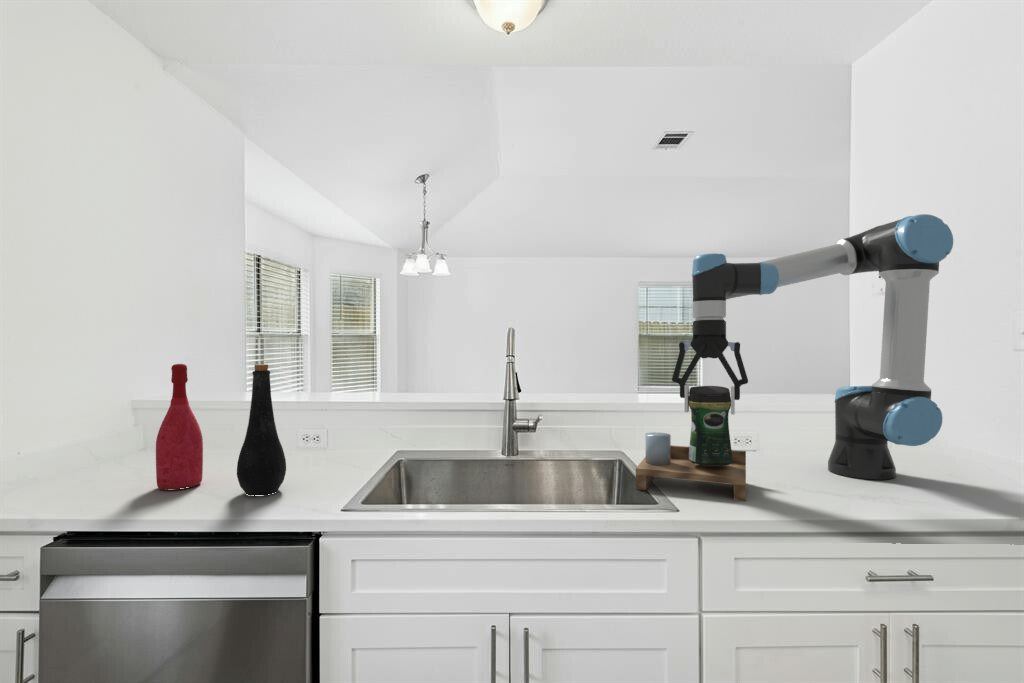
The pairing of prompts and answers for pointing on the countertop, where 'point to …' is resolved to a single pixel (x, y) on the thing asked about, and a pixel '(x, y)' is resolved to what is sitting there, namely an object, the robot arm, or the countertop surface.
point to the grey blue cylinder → (658, 448)
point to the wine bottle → (179, 440)
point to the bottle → (261, 442)
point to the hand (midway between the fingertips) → (709, 412)
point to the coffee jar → (710, 426)
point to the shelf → (696, 471)
